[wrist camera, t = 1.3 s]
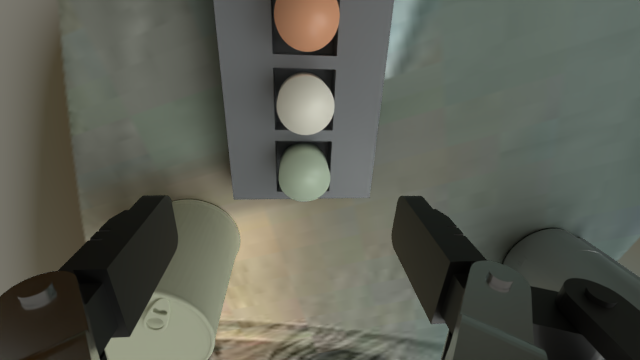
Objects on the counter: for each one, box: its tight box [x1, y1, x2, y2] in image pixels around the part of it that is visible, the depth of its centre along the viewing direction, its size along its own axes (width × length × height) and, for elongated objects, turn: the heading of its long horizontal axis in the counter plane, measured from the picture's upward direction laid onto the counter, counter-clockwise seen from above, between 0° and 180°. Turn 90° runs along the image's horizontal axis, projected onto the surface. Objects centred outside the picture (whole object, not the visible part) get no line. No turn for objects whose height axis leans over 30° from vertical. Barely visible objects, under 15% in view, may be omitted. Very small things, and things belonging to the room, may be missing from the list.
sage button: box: [279, 142, 330, 202], centre depth 24 cm, size 4×4×3 cm
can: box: [105, 199, 240, 360], centre depth 25 cm, size 9×9×12 cm
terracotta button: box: [274, 0, 340, 52], centre depth 19 cm, size 4×4×3 cm
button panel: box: [213, 0, 394, 199], centre depth 24 cm, size 12×17×3 cm
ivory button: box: [277, 72, 335, 135], centre depth 22 cm, size 4×4×3 cm
